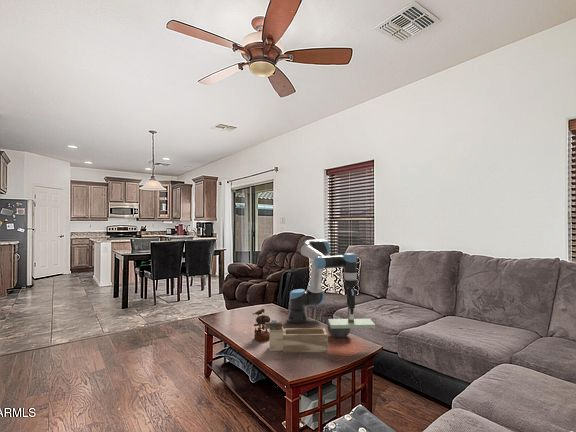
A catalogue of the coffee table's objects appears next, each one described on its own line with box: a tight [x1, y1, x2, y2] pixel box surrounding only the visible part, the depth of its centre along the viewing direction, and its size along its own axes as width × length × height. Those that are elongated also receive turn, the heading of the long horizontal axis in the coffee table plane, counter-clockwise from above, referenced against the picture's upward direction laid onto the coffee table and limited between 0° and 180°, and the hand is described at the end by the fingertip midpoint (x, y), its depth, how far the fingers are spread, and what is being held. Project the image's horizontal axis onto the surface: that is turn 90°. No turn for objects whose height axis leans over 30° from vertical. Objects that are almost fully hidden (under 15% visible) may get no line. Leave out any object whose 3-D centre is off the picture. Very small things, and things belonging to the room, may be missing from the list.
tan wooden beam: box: [265, 321, 283, 330], centre depth 192 cm, size 2×10×3 cm, turn 91°
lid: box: [327, 305, 376, 329], centre depth 193 cm, size 12×26×11 cm, turn 91°
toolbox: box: [269, 319, 329, 354], centre depth 192 cm, size 12×34×16 cm, turn 91°
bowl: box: [327, 322, 351, 339], centre depth 211 cm, size 15×15×10 cm
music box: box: [252, 308, 271, 343], centre depth 209 cm, size 15×11×20 cm
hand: (351, 318), depth 193 cm, fingers closed on lid, 3 cm apart
